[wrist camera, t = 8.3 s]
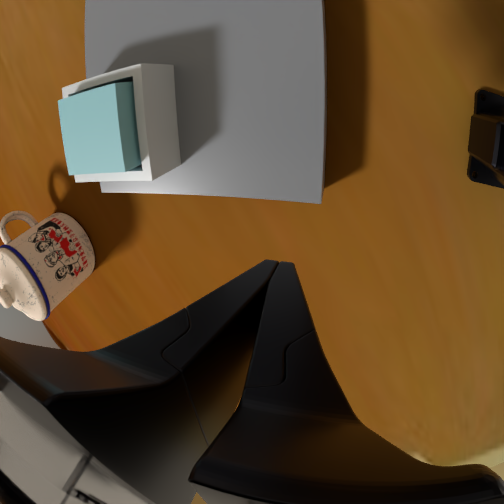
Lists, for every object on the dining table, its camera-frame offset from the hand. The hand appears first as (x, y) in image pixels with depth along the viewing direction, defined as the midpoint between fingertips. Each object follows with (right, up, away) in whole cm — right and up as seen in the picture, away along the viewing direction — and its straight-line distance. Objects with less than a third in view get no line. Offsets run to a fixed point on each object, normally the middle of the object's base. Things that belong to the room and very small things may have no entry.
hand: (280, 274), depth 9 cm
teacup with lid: (-23, +3, +22) cm, 32 cm away
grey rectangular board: (-4, +16, +8) cm, 18 cm away
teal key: (-9, +9, +8) cm, 15 cm away
